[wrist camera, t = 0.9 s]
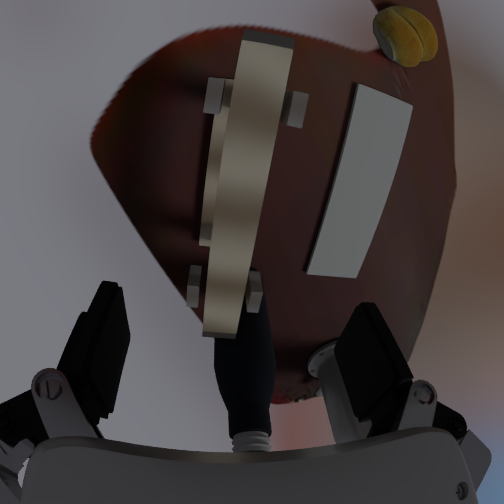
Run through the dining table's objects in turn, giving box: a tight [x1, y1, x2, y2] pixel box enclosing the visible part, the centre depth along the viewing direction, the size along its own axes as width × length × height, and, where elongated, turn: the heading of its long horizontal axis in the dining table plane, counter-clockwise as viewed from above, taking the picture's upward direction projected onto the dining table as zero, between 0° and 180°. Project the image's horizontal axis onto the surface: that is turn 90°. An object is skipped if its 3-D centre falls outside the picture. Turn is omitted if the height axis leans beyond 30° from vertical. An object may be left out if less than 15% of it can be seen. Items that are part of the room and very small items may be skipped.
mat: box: [306, 84, 413, 278], centre depth 33 cm, size 26×8×1 cm, turn 170°
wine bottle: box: [214, 267, 276, 453], centre depth 27 cm, size 6×6×30 cm
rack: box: [187, 77, 309, 313], centre depth 25 cm, size 20×6×13 cm, turn 170°
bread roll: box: [373, 6, 438, 67], centre depth 21 cm, size 8×9×4 cm
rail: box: [202, 29, 295, 339], centre depth 21 cm, size 26×3×3 cm, turn 170°
